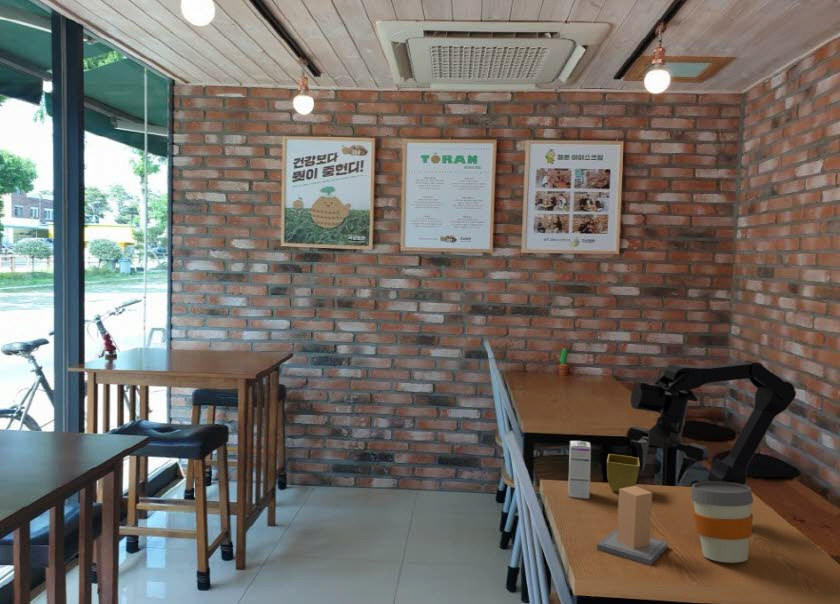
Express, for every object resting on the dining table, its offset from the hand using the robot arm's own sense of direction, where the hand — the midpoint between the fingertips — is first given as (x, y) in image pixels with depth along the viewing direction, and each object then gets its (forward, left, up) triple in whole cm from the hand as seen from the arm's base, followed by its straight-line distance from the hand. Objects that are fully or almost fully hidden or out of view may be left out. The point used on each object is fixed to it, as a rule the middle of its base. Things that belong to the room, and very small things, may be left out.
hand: (659, 476), depth 164 cm
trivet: (0, +18, -12) cm, 22 cm away
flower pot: (+16, -19, -12) cm, 27 cm away
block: (0, +18, -11) cm, 21 cm away
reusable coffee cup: (-18, +10, -12) cm, 24 cm away
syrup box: (+24, -7, -12) cm, 28 cm away
